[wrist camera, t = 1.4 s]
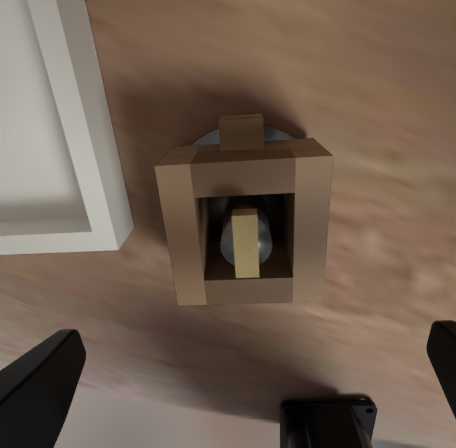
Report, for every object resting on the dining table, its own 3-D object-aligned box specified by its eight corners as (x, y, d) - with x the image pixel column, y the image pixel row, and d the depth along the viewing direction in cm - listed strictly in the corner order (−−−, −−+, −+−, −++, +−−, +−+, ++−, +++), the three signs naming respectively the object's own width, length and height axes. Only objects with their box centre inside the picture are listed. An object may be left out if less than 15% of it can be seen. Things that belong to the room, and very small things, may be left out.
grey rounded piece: (320, 268, 17) (347, 333, 13) (178, 273, 18) (157, 337, 14) (330, 117, 14) (371, 136, 10) (155, 129, 15) (117, 152, 10)
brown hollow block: (307, 259, 17) (322, 301, 14) (190, 263, 17) (178, 305, 14) (314, 109, 14) (335, 120, 11) (169, 119, 14) (148, 132, 11)
